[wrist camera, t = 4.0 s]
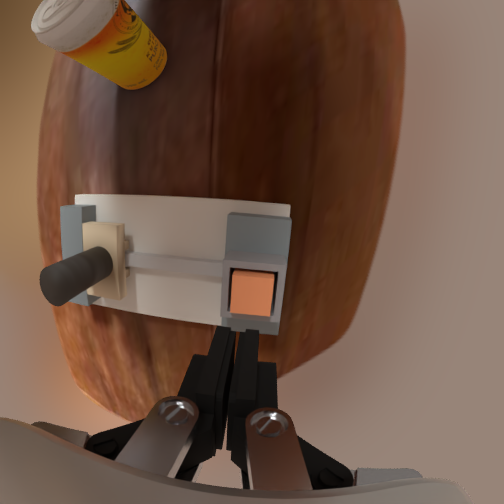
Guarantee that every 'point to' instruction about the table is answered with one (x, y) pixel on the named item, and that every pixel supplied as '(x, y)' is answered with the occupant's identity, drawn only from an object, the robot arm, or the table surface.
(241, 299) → the button
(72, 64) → the table surface
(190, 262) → the rail base
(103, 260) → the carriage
